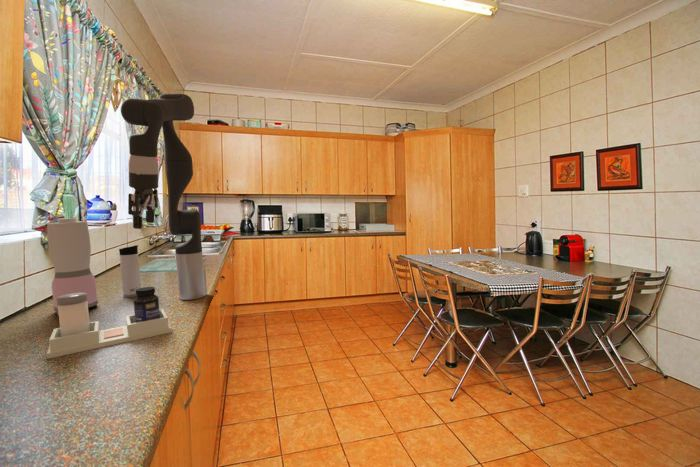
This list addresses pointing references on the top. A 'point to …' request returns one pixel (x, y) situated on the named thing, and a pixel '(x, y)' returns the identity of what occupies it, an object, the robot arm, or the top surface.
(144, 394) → the top surface
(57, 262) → the blender
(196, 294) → the robot arm
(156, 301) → the pill bottle
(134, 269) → the travel mug
